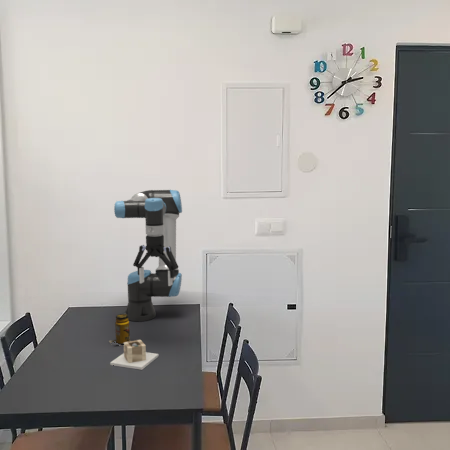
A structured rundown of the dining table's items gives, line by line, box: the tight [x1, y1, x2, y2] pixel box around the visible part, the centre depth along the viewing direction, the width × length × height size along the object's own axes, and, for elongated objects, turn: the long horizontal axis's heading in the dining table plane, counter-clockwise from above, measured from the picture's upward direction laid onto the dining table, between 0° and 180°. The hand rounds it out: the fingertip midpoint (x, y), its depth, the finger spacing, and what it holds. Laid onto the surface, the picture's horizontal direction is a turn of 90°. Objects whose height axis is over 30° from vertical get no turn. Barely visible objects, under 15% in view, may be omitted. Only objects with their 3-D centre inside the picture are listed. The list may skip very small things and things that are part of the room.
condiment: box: [108, 313, 131, 344], centre depth 229 cm, size 7×8×12 cm
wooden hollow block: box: [123, 339, 147, 363], centre depth 209 cm, size 7×7×6 cm
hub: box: [109, 343, 160, 370], centre depth 210 cm, size 14×14×7 cm
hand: (156, 283), depth 225 cm, fingers open, 13 cm apart
